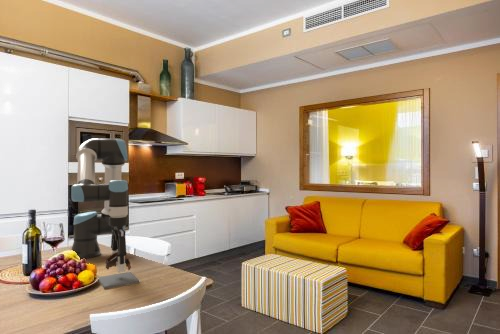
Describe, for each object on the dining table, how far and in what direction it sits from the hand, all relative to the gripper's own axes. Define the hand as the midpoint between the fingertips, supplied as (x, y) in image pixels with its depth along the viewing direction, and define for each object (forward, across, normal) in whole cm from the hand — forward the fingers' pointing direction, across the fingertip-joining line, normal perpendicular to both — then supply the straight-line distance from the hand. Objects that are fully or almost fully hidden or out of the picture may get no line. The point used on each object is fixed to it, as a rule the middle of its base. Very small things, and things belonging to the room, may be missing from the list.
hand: (118, 268), depth 148 cm
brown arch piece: (0, 0, 0) cm, 1 cm away
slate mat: (+5, 0, 0) cm, 5 cm away
